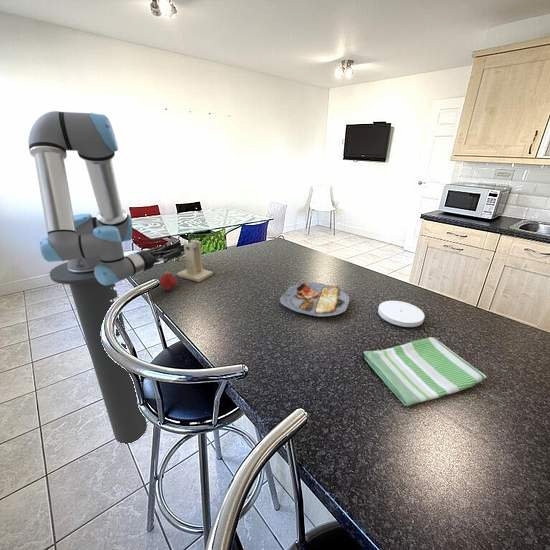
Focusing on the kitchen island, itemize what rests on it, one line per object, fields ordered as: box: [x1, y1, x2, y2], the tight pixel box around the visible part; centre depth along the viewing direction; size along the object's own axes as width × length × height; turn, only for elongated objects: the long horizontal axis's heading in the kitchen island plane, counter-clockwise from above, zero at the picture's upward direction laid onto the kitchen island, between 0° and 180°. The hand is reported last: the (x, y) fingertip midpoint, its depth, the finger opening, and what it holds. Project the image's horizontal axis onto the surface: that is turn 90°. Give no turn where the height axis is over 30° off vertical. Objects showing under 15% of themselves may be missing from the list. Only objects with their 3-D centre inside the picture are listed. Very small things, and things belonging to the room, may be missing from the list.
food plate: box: [279, 282, 351, 317], centre depth 104 cm, size 25×23×4 cm
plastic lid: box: [377, 300, 425, 328], centre depth 96 cm, size 14×14×2 cm
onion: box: [159, 271, 177, 292], centre depth 109 cm, size 6×6×8 cm
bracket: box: [176, 239, 214, 283], centre depth 121 cm, size 12×9×15 cm
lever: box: [173, 242, 198, 263], centre depth 122 cm, size 14×4×4 cm
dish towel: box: [362, 336, 487, 407], centre depth 73 cm, size 18×23×3 cm
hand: (184, 245), depth 129 cm, fingers open, 4 cm apart
